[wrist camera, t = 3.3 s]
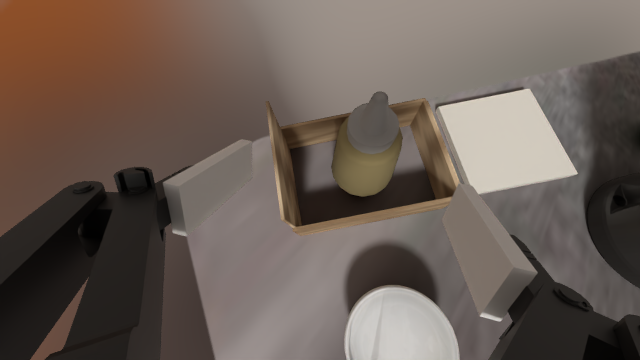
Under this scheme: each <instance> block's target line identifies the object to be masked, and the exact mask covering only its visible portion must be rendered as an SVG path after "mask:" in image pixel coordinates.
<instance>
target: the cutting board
mask: <svg viewBox="0 0 640 360" xmlns="http://www.w3.org/2000/svg"><path fill="white" fill-rule="evenodd" d="M436 114H437V117H438V119H439V122H440V124H441V127H442V129H443V132H444V134H445V137H446V139H447V142H448V144H449V147H450V149H451V152H452V154H453V157H454V159H455V162H456V164H457V167H458V169H459V172H460V174H461V177H462V179H463V182H464V184H466V185H471V186H473V187H474V189H475V190H476V191H477V193H478V194H484V193H489V192H494V191H499V190H504V189H509V188H515V187H520V186H525V185H530V184H535V183H540V182H545V181H550V180H556V179H561V178H566V177H570V176H573V175H576V174H578V173H577V171H576V170H575V168H574V166H573V164H572V163H571V161H570V159H569V157H568V155H567V154H566V152H565V150H564V148H563V147H562V145H561V143H560V141H559V140H558V138H557V136H556V134H555V133H554V131H553V129H552V127H551V126H550V124H549V122H548V120H547V118H546V117H545V115H544V113H543V111H542V110H541V108H540V106H539V104H538V103H537V101H536V99H535V97H534V96H533V94H532V92H531V90H530V89H525V90H520V91H515V92H510V93H505V94H500V95H495V96H490V97H485V98H480V99H475V100H470V101H465V102H460V103H455V104H450V105H445V106H440V107H438V108H437V110H436Z"/></svg>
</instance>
